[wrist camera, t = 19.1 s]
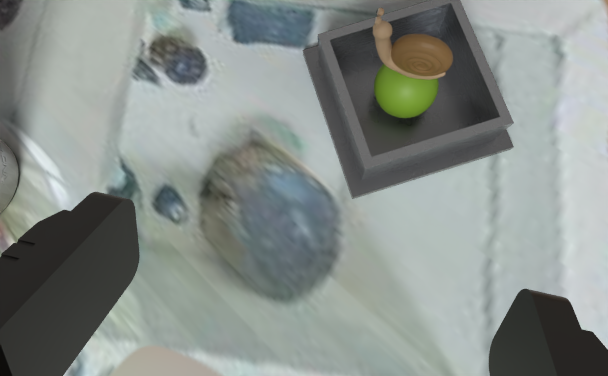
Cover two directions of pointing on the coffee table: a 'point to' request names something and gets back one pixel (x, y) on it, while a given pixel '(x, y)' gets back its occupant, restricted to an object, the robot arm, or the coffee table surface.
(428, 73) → the snail figurine
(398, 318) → the coffee table surface
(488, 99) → the duct collar
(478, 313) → the coffee table surface
